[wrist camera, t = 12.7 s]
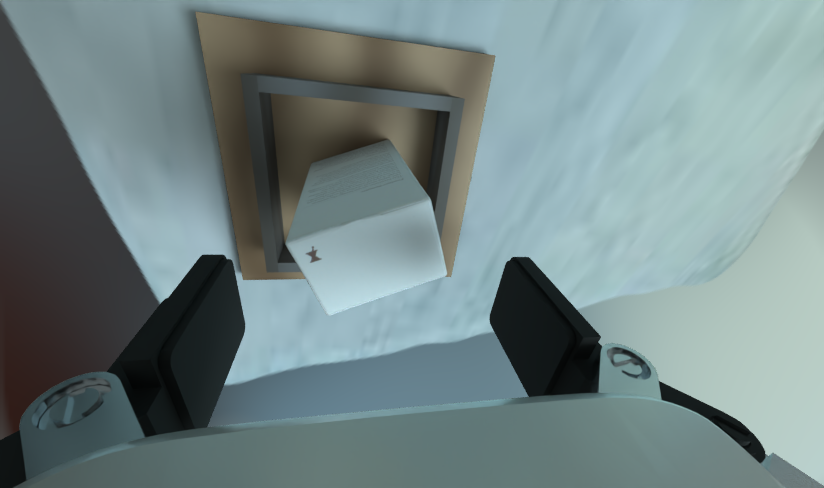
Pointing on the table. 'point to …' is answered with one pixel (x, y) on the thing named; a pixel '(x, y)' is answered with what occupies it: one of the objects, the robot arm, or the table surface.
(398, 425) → the robot arm
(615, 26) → the table surface
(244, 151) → the wooden framed tray
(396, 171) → the skincare box
